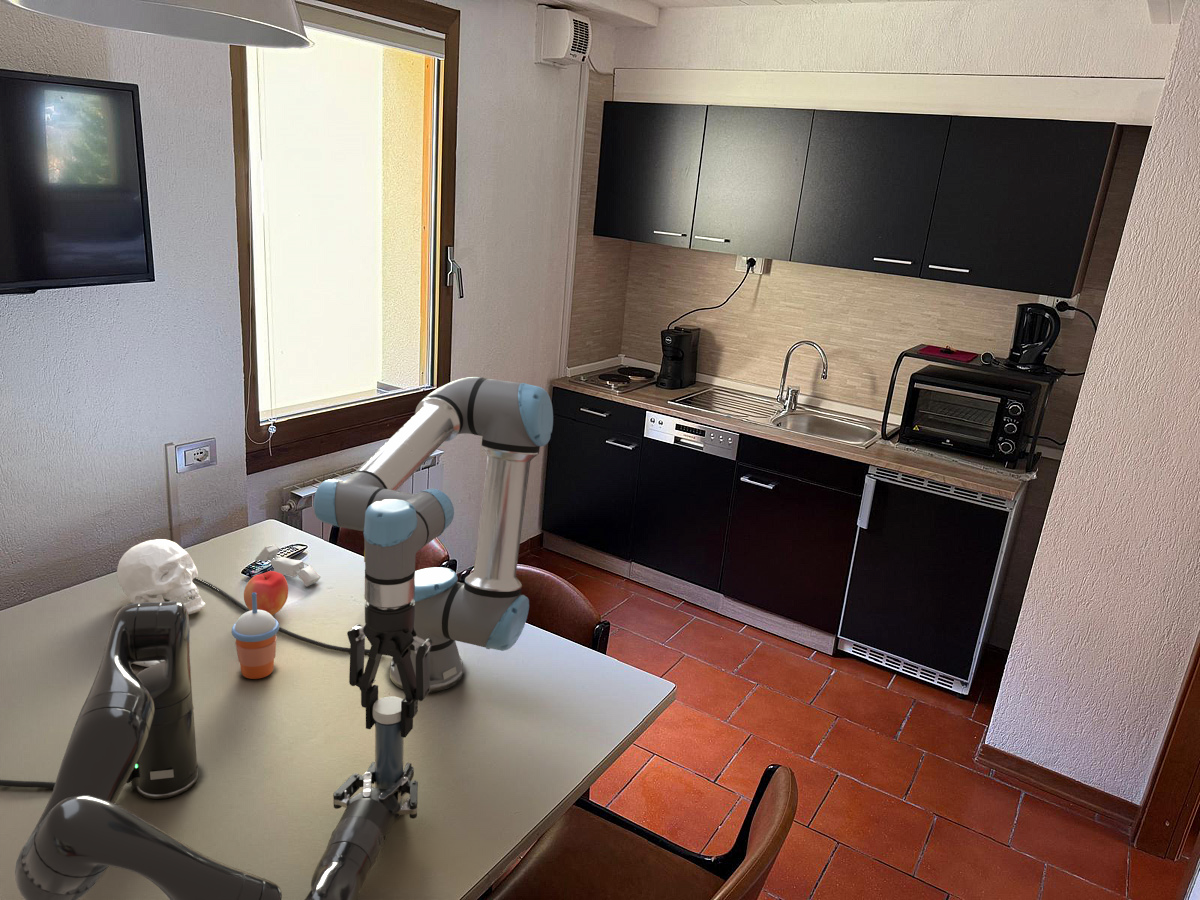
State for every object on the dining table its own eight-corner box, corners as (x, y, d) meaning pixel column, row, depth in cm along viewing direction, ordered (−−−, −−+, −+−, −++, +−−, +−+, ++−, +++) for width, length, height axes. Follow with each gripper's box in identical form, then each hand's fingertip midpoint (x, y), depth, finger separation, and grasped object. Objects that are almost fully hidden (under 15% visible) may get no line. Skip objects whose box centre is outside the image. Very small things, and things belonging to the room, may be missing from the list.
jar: (408, 809, 143) (409, 709, 138) (386, 822, 140) (386, 721, 134) (391, 796, 146) (392, 697, 140) (369, 809, 143) (369, 708, 137)
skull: (183, 627, 192) (180, 562, 188) (105, 607, 198) (100, 543, 194) (224, 603, 205) (222, 542, 200) (149, 585, 210) (146, 525, 206)
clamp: (253, 565, 223) (254, 542, 221) (265, 560, 226) (266, 537, 224) (309, 593, 215) (310, 569, 213) (320, 588, 218) (321, 564, 216)
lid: (366, 720, 136) (366, 710, 135) (383, 702, 141) (383, 692, 140) (395, 727, 135) (395, 717, 134) (411, 709, 139) (412, 700, 139)
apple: (273, 600, 207) (272, 562, 204) (297, 613, 202) (296, 575, 199) (237, 614, 200) (234, 575, 197) (261, 628, 194) (259, 588, 191)
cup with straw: (265, 686, 173) (261, 607, 168) (224, 678, 175) (219, 599, 169) (289, 663, 182) (286, 587, 176) (250, 656, 183) (246, 580, 178)
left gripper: (312, 853, 129) (353, 778, 145) (404, 865, 128) (435, 789, 144) (311, 811, 127) (353, 741, 143) (405, 824, 126) (436, 751, 142)
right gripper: (455, 599, 133) (451, 727, 140) (348, 578, 137) (349, 703, 144) (435, 621, 126) (432, 754, 133) (322, 599, 130) (325, 729, 137)
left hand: (394, 765), depth 144 cm, fingers closed on jar, 4 cm apart
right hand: (389, 728), depth 138 cm, fingers open, 5 cm apart
